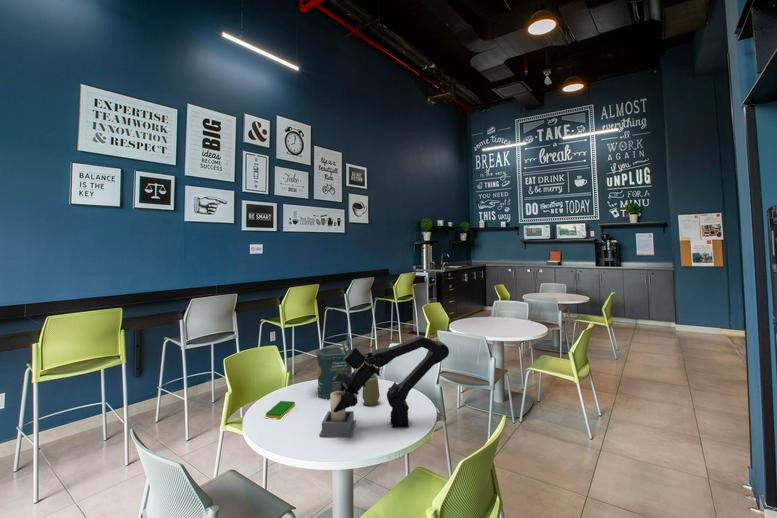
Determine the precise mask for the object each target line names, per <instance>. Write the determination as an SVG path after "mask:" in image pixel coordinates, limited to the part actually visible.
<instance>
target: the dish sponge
mask: <svg viewBox="0 0 777 518" xmlns="http://www.w3.org/2000/svg"><path fill="white" fill-rule="evenodd" d="M295 407H296V402H295V401H290V400H289V401H287V400H280V401H279V402H278V403H277V404H275V405H273V407H272V408H271V409H269V410H268V411H267V412H266V413H265V418H266V417H268V418H277V419H276V420H282V419H283V418H284V417H285V416H286V415H288V413H289V412H290V411H292V409H294V408H295ZM285 414H286V415H285ZM284 415H285V416H284ZM283 416H284V417H283ZM282 417H283V418H282ZM268 418H267V419H268ZM281 418H282V419H281Z"/></svg>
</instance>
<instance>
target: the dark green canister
mask: <svg viewBox="0 0 777 518" xmlns="http://www.w3.org/2000/svg"><path fill="white" fill-rule="evenodd" d="M351 349H352V338H351V337H350V335H349V334H348V332H346V341H345V342H343V343H342V346H331V347H324V348H320V349H317V350H316V361H317V389H316V390H317V398H318V399H323V400H326V399H327V400H328V401H330V400H329V399H331V398H330V394H331V393H332V392H335V391H339V390H340V388H341V382H340V381H336V380H335V376H336V374H337V371H338V369H339V370H342V371H345V372H347V373H349V374H352V367H351V366H350V365H349V364H348V363H346V362H345V361H344V360H343V358H344V356H345V355H346V354H347V353H348V352H349V351H350V350H351ZM327 400H326V401H327Z"/></svg>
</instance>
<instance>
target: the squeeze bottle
mask: <svg viewBox="0 0 777 518" xmlns="http://www.w3.org/2000/svg"><path fill="white" fill-rule="evenodd" d="M378 379H379V378H378V376H377V375H376V374H375V373H374V375H373V376H372V377H371V378H370V379H369V380H368V381H367V382H366V383H365V384H366V386H365V387H362V395H361V396H362V399H363V402H364V405H365V406H370V407H371V406H372V407H374V406H376V405H378V403H379V399H380V396H381V395H380V386H379V380H378Z"/></svg>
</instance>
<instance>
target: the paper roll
mask: <svg viewBox="0 0 777 518" xmlns="http://www.w3.org/2000/svg"><path fill="white" fill-rule="evenodd" d="M341 393H342V391H335V392H332V393H331V394H330V398H331V400H330V411H331V422H346V417H345V411H346V408H345V409H343V410H341V411H338V412H336V413H335V412H334V411H333V410H334V409H335V407H336V406H337V404H338V403H339V401H340V400H341Z"/></svg>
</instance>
